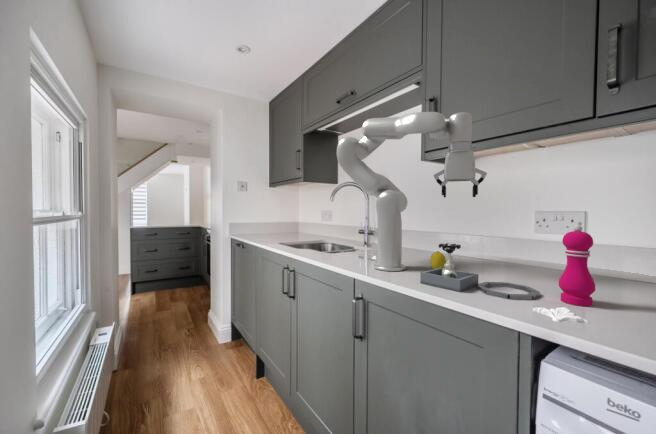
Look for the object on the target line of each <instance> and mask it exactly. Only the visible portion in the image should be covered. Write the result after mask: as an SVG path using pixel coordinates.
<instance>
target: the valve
mask: <svg viewBox="0 0 656 434" xmlns="http://www.w3.org/2000/svg"><path fill="white" fill-rule="evenodd" d="M438 248H439V249H440V248H441V249H442V250H443V252H446V254H447V255H446V257H445V260H446V263H445V264H444V268H445V269H443V270H442V276H445V277H448V275H450V274H451V275H450V276H449V277H451V278H456V279H458V275H457V274H456V273H455V271H454V270H455V269H454V268H455V264H454V263H453V258H454V257H453V255H452V254H453V253H454V252H455V251H456V250H460V249H461V248H462V247H461V244H456V243H448V242H446V243H439V244H438Z"/></svg>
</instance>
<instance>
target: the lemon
mask: <svg viewBox="0 0 656 434" xmlns="http://www.w3.org/2000/svg"><path fill="white" fill-rule="evenodd" d="M429 259H430V261H429V263H430V266H431V268H432V270H433V269H437V268H445V267H444V264H445V263H446V262H447V260H446V257H445V255H444V254H443V252H440V251H439V250H438V251H437V250H436V251H435V252H433V253H432V254H431V256H430V258H429Z"/></svg>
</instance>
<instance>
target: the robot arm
mask: <svg viewBox="0 0 656 434" xmlns="http://www.w3.org/2000/svg"><path fill="white" fill-rule="evenodd" d="M472 117H473V116H472V114H471V113H470V112H465V111H464V112H463V111H461V112H455V113H453V114H451V115H450V116H449V118H446V117H445V115H444V114H443V113H441V112H438V111H423V112H421V111H420V112H412V113H409V114H405V115H402V116H395V117H394V116H393V117H390V116H389V117H373V118H367V119H365V121H364V122H363V124H362V126H361V133H362V134H363V137H362V138H361V139H358V138H356V137H353V136H346V137H343V138H342V139H340V140H339V141H338V143H337V146H336V158H337V162H338V163H339V166H340V167H341V169H342V170H343V171H344V172H345V173H346V174H347V175H348V176H349V177H350V179H351V180H352V181H353V182H354V183H355V184H356V185H357V186H358V187H359V188H360V189H361V190H362V191H363V192H364V193H365V194H366V195H367V196H370V197H371V196H373V197H375V198H376V202H375V209H376V215H377V255H373V256H372V257H371V261H374V262H375V263H374V264H373V269H375V270H378V271H383V272H385V271H386V272H399V271H404V270H405V269H406V268H407V267H406V265H405V264H403V263H402V259H403V258H402V257H403V256H402V253H403V252H402V251H403V248H402V244H403V243H402V242H403V238H402V236H403V234H402V233H403V227H402V226H403V225H402V224H403V221H402V212H404V211H405V210H406V209H407V207H408V197H407V196H406V194H405V193H404V192H403V191H401V190H400V188H398V186H396V185H395V184H394V183H393V182H392V181H391V180H390V179H389V178H388V177H387V176H385V175H382V174H380V173H377V172H375V171H374V170H373V169H371V168H370V166H368V165H367V163H365V161H364V159H366V158H367V157H369V156H371V154H372V153H374V151H376V150H377V149H378V148H379V147H380V146H381V145H382V144H384V142H385V141H386V140H401V139H403V138H404V137H405V136H407V135H414V134H428V135H429V137H431V138H432V139H434V140H442V139H447V138H448V143H447V144H448V145H447V146H448V147H447V148H448V152H447V153H446V154H445V160H444V168H443V169H442V170H440V171H439V172H436V173H434V174H433V177H434V179H435V181H436V183H437V184H438V185H439V186H440V187H441V196H443V198H444V199H445V198H447V186H446V184H447V183H448V182H471V183H472V184H473V185H472V198H476V196H477V195H478V194H479V185H480V184H481V183H482V182H483V181H484V180H485V178H486V177H487V174H488V173H487V172H486V171H484V170H482V169H479V168H477V167H476V160H475V159H476V158H475V154H474V151H473V150H476V149H477V144H473V143H472V137H473V136H472V133H473V131H472V130H473V128H472V127H473V126H472V124H473V118H472ZM476 174H479V175H480V177H479V179H478V180H477V179H476ZM442 175H443V179H444V180H443V181H442V180H441V179H440V176H442Z"/></svg>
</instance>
